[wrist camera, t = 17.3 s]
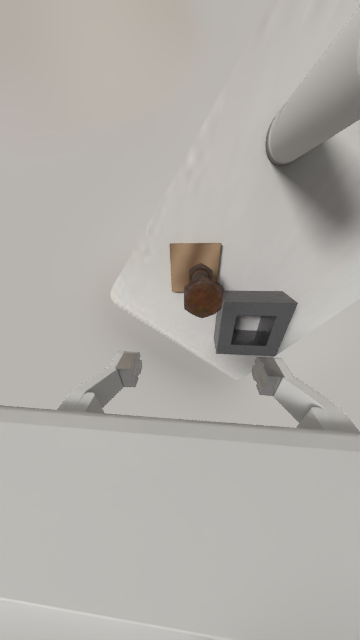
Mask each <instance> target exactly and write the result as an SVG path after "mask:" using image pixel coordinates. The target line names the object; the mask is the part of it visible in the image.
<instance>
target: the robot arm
mask: <svg viewBox="0 0 360 640" xmlns="http://www.w3.org/2000/svg"><path fill="white" fill-rule="evenodd" d="M255 363H256V364H255V365H254V366H253V368H252V375H253V378H254V380H255V381H256V382H257V385H256V386H257V389H258V391H259V394H260V395H268V396H273V397H274V398H275V399H276V400H277V401H278V402H279V403H280V404H281V405H282V406H283V407H284V408H285V409H286V410H287V411H288V412H289V413H290V414H291V415H292V416H293V417H294V418H295V419H296V420H297V421H298V422H299V423H300V424H299V425H298V426H297V428H290V427H275V426H264V425H250V424H249V425H248V424H237V423H222V422H210V421H197V420H184V419H170V418H156V417H143V416H130V415H117V414H105V413H104V412H103V410H102V408H103V407H104V406H105V405H106V404H107V403H108V402H109V401H110V400H111V399H112V398H113V397H114V396H115V395H116V394H117V393H118V392H119V391H120V390H121V389H122V388H123V387H135V386H136V384H137V381H138V375H139V374H140V373H141V369H142V361H141V360H140V353H139V352H126V351H118V352H117V353H116V355H115V357H114V358H113V360H112V362H111V363H110V365H109V367H108V368H105V369H104V370H102V371H100V372H99V373H97V374H96V375H94V376H93V377H91V378H90V379H88V380H87V381H85V382H84V383H82V384H81V385H79V386H78V387H76V388H75V389H73V390H72V391H71V392H70V393H69V395H68V396H67V397H66V398H65V400H64V401H63V403H62V404H61V405H60V407H59V408H58V409H57V410H51V409H38V408H37V409H36V408H24V407H12V406H0V640H360V432H359V430H358V429H357V428H356V427H355V425H354V424H353V423H352V421H351V420H350V419H349V418H348V416H347V415H346V414H345V413H344V411H343V410H342V409H341V408H340V407H338V406H337V405H335V404H334V403H332V402H331V401H329V400H328V399H327V398H325V397H324V396H322V395H321V394H319V393H318V392H316V391H314V390H313V389H312V388H310V387H309V386H307V385H306V384H304V383H303V382H302V381H300V380H299V379H297V378H294V377H293V375H292V373H291V372H290V370H289V369H288V367H287V366H286V364H285V363H284V361H283V360H282V359H281V358H265V357H257V358H256V359H255Z"/></svg>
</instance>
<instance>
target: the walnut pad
mask: <svg viewBox="0 0 360 640" xmlns="http://www.w3.org/2000/svg"><path fill="white" fill-rule="evenodd" d="M220 248H221V243H179V244H170V260H171V281H172V292H184V287H185V286H186V285H187V284H189V269H191V268H192V267H194V266H196V265H197V264H199V263H202V264H204V265H206V266H207V267H209V268H210V269H212V271H213V275H212V280H213V281H215V282H216V283H217V276H218V267H219V258H220Z"/></svg>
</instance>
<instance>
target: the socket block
mask: <svg viewBox="0 0 360 640" xmlns="http://www.w3.org/2000/svg"><path fill="white" fill-rule="evenodd" d="M297 304H298V303H297V302H296V301H294V300H293V299H292V298H291V297H289V296H288V295H287V294H285V293H284V292H283V291H224V292H223V302H222V307H221V310H219V311H218V312H217V316H216V325H215V333H214V342H215V348H216V354H239V355H264V356H276V354H277V351H278V349H279V347H280V344H281V342H282V339H283V337H284V335H285V332H286V330H287V327H288V325H289V323H290V320H291V318H292V316H293V313H294V311H295V308H296V306H297ZM236 315H249V316H261V320H260V323H259V326H258V330H257V331H247V330H234V325H235V320H236Z"/></svg>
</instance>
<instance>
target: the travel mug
mask: <svg viewBox="0 0 360 640" xmlns="http://www.w3.org/2000/svg"><path fill="white" fill-rule="evenodd" d="M359 119H360V6H359V7H358V8H357V10H356V11H355V12H354V14H353V15H352V16H351V18H350V19H349V20H348V22H347V23H346V24H345V26H344V27H343V28H342V30H341V31H340V32H339V33H338V35H337V36H336V37H335V39H334V40H333V41H332V43H331V44H330V45H329V47H328V48H327V49H326V51H325V52H324V53H323V55H322V56H321V57H320V58H319V60H318V61H317V62H316V64H315V65H314V66H313V68H312V69H311V70H310V72H309V73H308V74H307V76H306V77H305V78H304V80H303V81H302V82H301V83H300V85H299V86H298V87H297V89H296V90H295V91H294V93H293V94H292V95H291V97H290V98H289V99H288V101H287V102H286V103H285V105H284V106H283V107H282V109H281V110H280V111H279V112H278V114H277V115H276V117H275V118H274V119H273V121H272V123H271V125H270V127H269V130H268V133H267V137H266V152H267V155H268V157H269V159H270V160H271V162H273V163H274V164H277V165H286V164H289V163H291V162H292V161H294V160H296V159H297V158H299V157H300V156H302V155H304V154H305V153H307V152H308V151H310V150H312V149H313V148H315V147H316V146H318V145H319V144H321V143H323V142H324V141H326V140H327V139H329V138H331V137H332V136H334V135H335V134H337V133H339V132H340V131H342V130H343V129H345V128H347V127H348V126H350V125H351V124H353V123H354V122H356V121H358V120H359Z"/></svg>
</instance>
